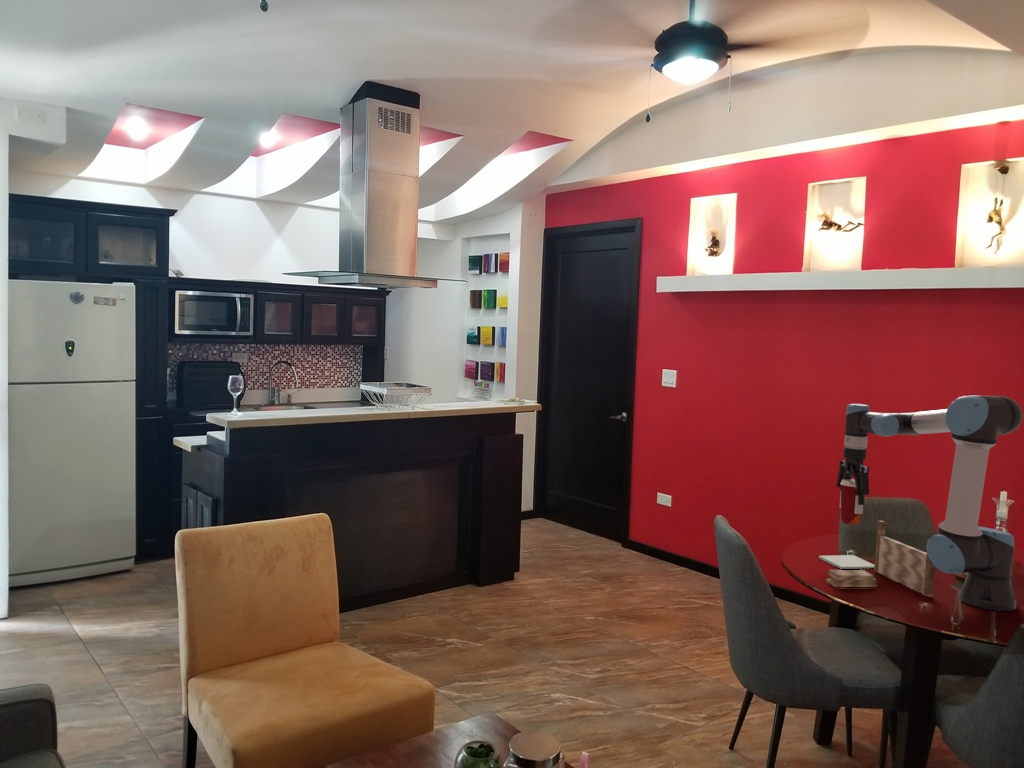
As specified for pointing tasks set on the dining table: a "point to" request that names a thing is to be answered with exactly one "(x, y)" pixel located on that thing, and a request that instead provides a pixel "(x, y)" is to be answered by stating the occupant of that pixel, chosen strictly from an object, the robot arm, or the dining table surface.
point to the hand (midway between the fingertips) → (850, 510)
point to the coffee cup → (848, 502)
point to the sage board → (847, 562)
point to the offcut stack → (851, 578)
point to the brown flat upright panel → (903, 563)
